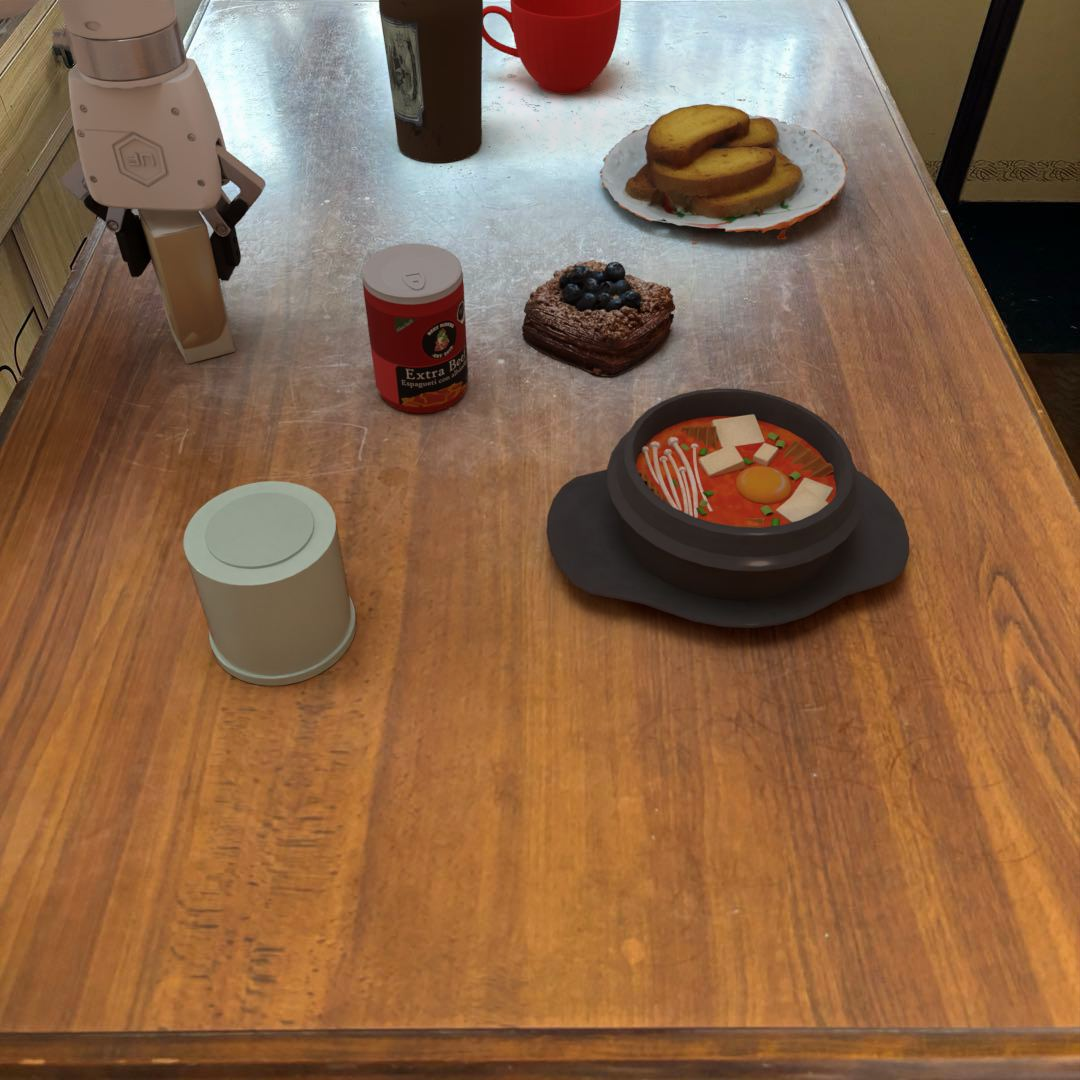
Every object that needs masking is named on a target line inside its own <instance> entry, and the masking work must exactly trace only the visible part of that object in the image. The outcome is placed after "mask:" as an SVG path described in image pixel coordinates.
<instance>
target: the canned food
mask: <svg viewBox="0 0 1080 1080" xmlns="http://www.w3.org/2000/svg"><path fill="white" fill-rule="evenodd" d="M462 267H463V266H462V263H461V261H460V259H459V258H458V257H457V256H456V255H455V254H454V253H453V252H451V251H449V250H447V249H445V248H443V247H441V246H438V245H433V244H427V243H402V244H397V245H392V246H388V247H386V248H383V249H381V250H378V251H377V252H375V253H373V254H372V255H370V257H369V258H368V259H367V260H366V261H365V262H364V264H363V266H362V271H361V274H362V277H361V279H362V288H363V289H362V291H363V297H364V307H365V312H366V313H365V315H366V321H367V329H368V336H369V343H370V345H369V346H370V352H371V358H372V359H371V360H372V367H373V375H374V381H375V386H376V389H377V390H378V393H379V394H380V396H381V398H382V399H383V400H384V401H385V403H387V404H389V406H391V407H392V408H394V409H397V410H398V411H403V412H405V413H410V414H411V413H412V414H427V413H428V414H429V413H435V412H438V411H442V410H444V409H447V408H449V407H451V406H452V405H454V404H456V403H457V402H458V401H459V400H460V399H461V398H462V396H463V395H464V394H465V390H466V388H467V384H468V381H469V367H468V345H467V344H468V343H467V325H466V306H465V303H466V302H465V283H464V272H463V268H462Z"/></svg>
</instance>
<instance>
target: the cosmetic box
mask: <svg viewBox="0 0 1080 1080" xmlns="http://www.w3.org/2000/svg"><path fill="white" fill-rule="evenodd" d="M137 212H138V215H139V218H140V220H141V224H142V227H143V231H144V234H145V238H146V242H147V245H148V249H149V253H150V257H151V264H152V267H153V271H154V275H155V278H156V283H157V286H158V289H159V293H160V297H161V301H162V304H163V305H162V306H163V308H164V312H165V316H166V319H167V322H168V327H169V330H170V332H171V335H172V337H173V340H174V342H175V344H176V346H177V348H178V350H179V352H180V353H181V355H182V357H183V359H184V361H185V362H186V364H188V365H189V364H193V363H197V362H201V361H206V360H208V359H209V360H210V359H213V358H217V357H220V356H223V355H227V354H231V353H234V352H235V351H236V348H235V344H234V339H233V335H232V331H231V327H230V321H229V317H228V313H227V308H226V303H225V299H224V295H223V290H222V285H221V282H220V281H221V280H220V279H219V278H218V274H217V269H216V265H215V260H214V256H213V251H212V246H211V241H210V233H209V227H208V224H207V222H206V221H205V218H204V217H203V215H202V213H201V212H200V211H168V210H142V209H137Z"/></svg>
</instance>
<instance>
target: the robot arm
mask: <svg viewBox="0 0 1080 1080" xmlns="http://www.w3.org/2000/svg"><path fill="white" fill-rule="evenodd" d="M39 1H40V0H0V20H5V19H10V18H15V17H18V16H20V15H23V14H24V13H27V12H28V11H29V10H31V9H33V7H35V6H36V5H37V4H38V3H39ZM58 2H59V6H60V10H61V13H62V16H63V21H64V24H65V25H64V26H63V27H62V28H53V29H52V32H51V40H52V43H53V46H54V47H55V49H58V50H65V51H66V52H70V54H71V58H72V61H73V64H74V66H73V67H72V68H71V69H69V71H68V74H67V77H68V78H67V80H68V93H69V102H70V111H71V117H72V125H73V131H74V136H75V141H76V145H77V150H78V156H79V157H78V158H77V160H76V161H75V162H74V163H73V164H72V165H71V167H69V169H68V170H67V171H66V172H65V174H64V175H63V176H62V177H61V179H60V183H61V186H63V188H65V190H67V191H68V192H69V193H71V194H72V195H73V197H75V198H76V199H78V200H79V201H82V202H83V204H84V206H85V207H86V209H88V210H89V211H90V212H91V213H93V214H94V215H95V216H97V217H98V218H99V219H100V220H102V221H103V222H104V223H105V227H106V229H107V230H108V231H109V232H111V233H114V235H115V238H116V242H117V245H118V249H119V251H120V252H119V253H120V255H121V259H122V261H123V262H124V263H126V264H127V267H128V271H129V273H130V274H129V275H130V277H132V278H140V277H141V276H142V275H143V274H144V272H145V271H146V269H147V267H148V266H149V264H150V263H151V262H152V260H151V257H150V253H149V249H148V245H147V242H146V238H145V234H144V231H143V227H142V224H141V220H140V216H139V214H134V212H133V211H134V210H138V209H142V210H168V211H199V213H200V214H201V216H202V217H203V218H204V220H206V223H208V224H209V226H210V228H211V229H212V233H211V235H209V237H210V241H211V246H212V251H213V256H214V260H215V265H216V269H217V274H218V278H219V280H220V281H223V282H229V280H231V279H230V278H231V277H232V275H233V273H234V271H235V269H236V268H237V267H239V266H240V263H241V260H242V254H241V248H240V244H239V238H238V234H237V229H236V225H237V224H239V222H240V221H241V220H242V219H243V218H244V216H246V214H247V212H248V211H249V210H250V209H251V207H252V206H253V205H254V204H255V202H256V201H257V200H258V199H259V197H260V196H261V195H262V193H263V191H264V190H265V187H266V181H265V180H264V178H263V177H261V176H260V175H258V174H257V172H255V171H254V170H252V169H251V168H249V166H248V165H246V164H245V163H243V162H242V161H241V160H239V158H237V157H235V155H233V154H232V153H230V152H229V150H227V146H226V143H225V139H224V135H223V132H222V129H221V125H220V121H219V118H218V115H217V112H216V109H215V106H214V102H213V101H212V97H211V95H210V92H209V90H208V87H207V85H206V82H205V80H204V77H203V75H202V73H201V70H200V68H199V66H198V64H197V63H196V60H195V59H193V58H191V57H190V58H189V57H187V54H186V49H185V45H184V40H183V35H182V31H181V30H182V29H181V25H180V22H179V16H178V14H177V7H176V4H175V3H176V2H175V0H58ZM230 182H231V183H233V184H234V185H235V186H236V187H237V188H238V189H239V192H238V194H236V196H234V198H233V199H232V200H230V198H229V197H228V195H227V193H225V191H224V190H223V189H222V187H224V186H226V185H228V184H229V183H230Z"/></svg>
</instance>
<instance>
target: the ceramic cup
mask: <svg viewBox="0 0 1080 1080" xmlns="http://www.w3.org/2000/svg"><path fill="white" fill-rule="evenodd" d="M509 3H510V11H509V10H508V9H506V8H504V7H502V6H498V5H488V6H485V7H483V20H484V19H485V17H486V16H487V15H489V14H497V15H500V16H501V17H503V18H504V20H506V22H507V23H508V25H509V27H510V29H511V32H512V33H513V39H514V44H515V47H511V46H509V45H506V44H504V43H502V42H499V41H498V40H496V39H495V38H493V37H492V36H491V35H490V34H489V32H488V31H487V29H486V28H485V25H484V23H483V28H482V39H483V41H485V42H486V43H487V44H488V45H489V46H490V47H492V48H493V49H495V50H497V51H499V52H502V53H504V54H506V55H509V56H512V57H515V58H519V59H520V62H521V63H522V65H523V67H524V69H525V70H526V72H527V73H528V74H529V76H530V77H531V78H532V80H534V82H536V84H537V85H538V87H539V88H540V89H542V90H543V91H546V92H548V93H552V94H557V95H558V94H559V95H570V94H571V95H572V94H578V93H581V92H584V91H586V90H588V89H589V88H590V87H591V86H592V84H593V83H594V82H595V81H596V80H597V79H598V78H599V76H600V75H601V74H602V73H603V72H604V70H605V69H606V67H607V66H608V64H609V62H610V60H611V58H612V55H613V52H614V49H615V46H616V42H617V39H618V32H619V28H620V27H619V26H620V20H621V19H620V17H621V11H622V0H510V2H509Z"/></svg>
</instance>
